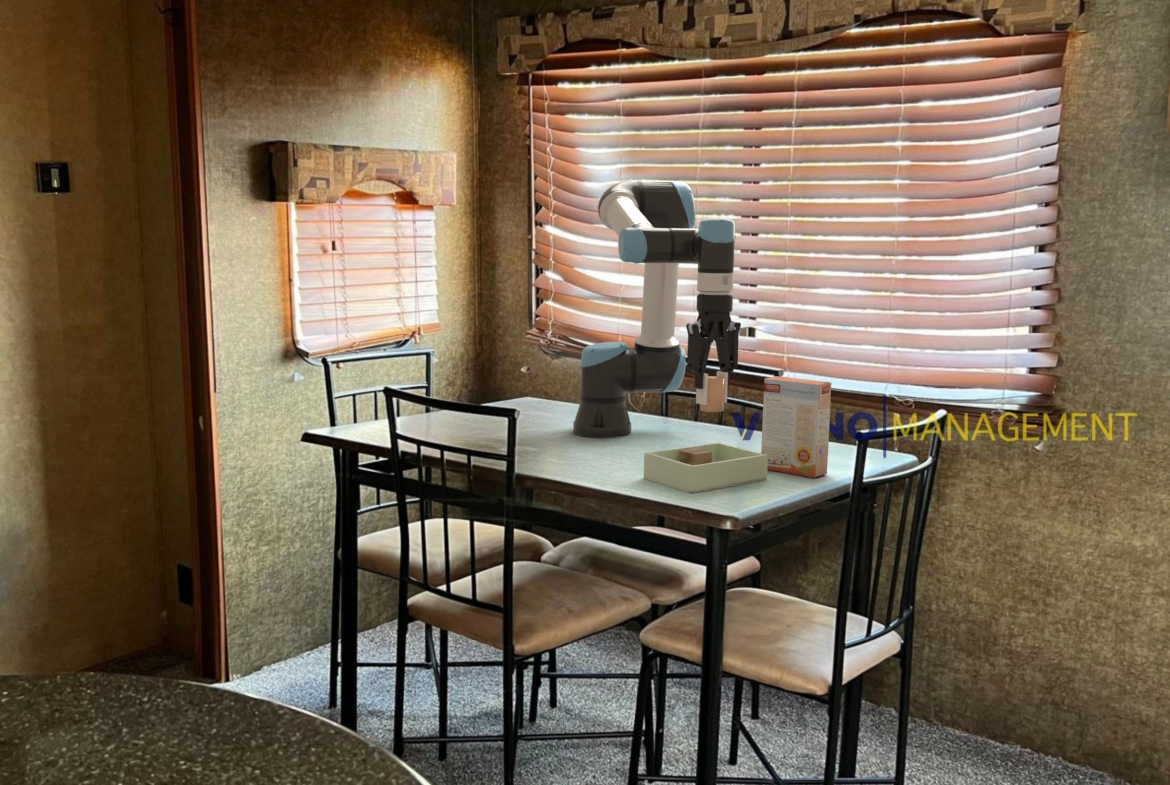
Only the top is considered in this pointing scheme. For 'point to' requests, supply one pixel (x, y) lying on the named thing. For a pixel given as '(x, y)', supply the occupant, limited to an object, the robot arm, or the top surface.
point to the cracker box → (796, 425)
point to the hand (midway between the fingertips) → (711, 402)
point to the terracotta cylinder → (714, 395)
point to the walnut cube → (695, 456)
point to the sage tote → (706, 468)
